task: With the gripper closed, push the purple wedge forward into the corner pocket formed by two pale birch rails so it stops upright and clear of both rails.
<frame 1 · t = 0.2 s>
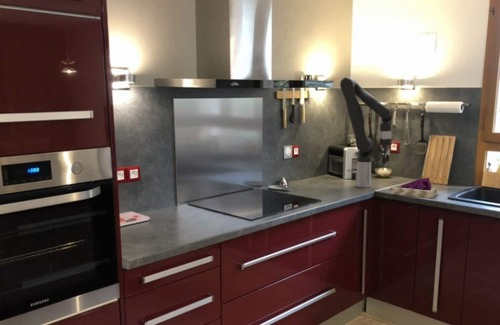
hand: (385, 162, 297), 18 cm above the worktop, tool pointing down, fingers open, 8 cm apart
purple wedge: (414, 191, 290), on the worktop
corner rails: (413, 193, 282), on the worktop
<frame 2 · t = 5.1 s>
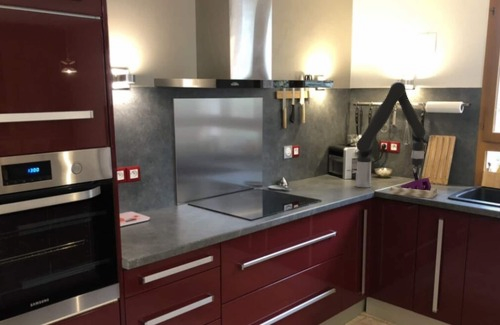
hand: (416, 183, 295), 4 cm above the worktop, tool pointing down, fingers closed
purple wedge: (413, 191, 290), on the worktop, touching gripper
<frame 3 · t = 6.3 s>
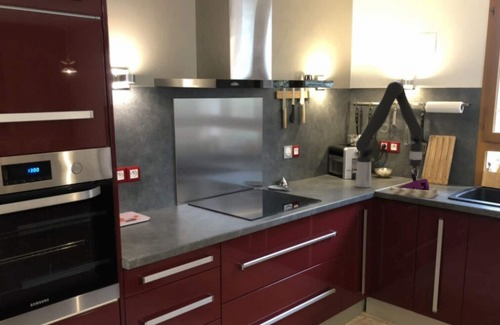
hand: (414, 184, 290), 4 cm above the worktop, tool pointing down, fingers closed
purple wedge: (411, 192, 288), on the worktop, touching gripper
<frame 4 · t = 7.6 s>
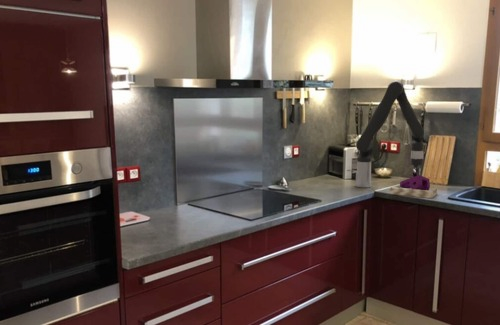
hand: (416, 184, 290), 4 cm above the worktop, tool pointing down, fingers closed
purple wedge: (411, 190, 287), point 1 cm above the worktop
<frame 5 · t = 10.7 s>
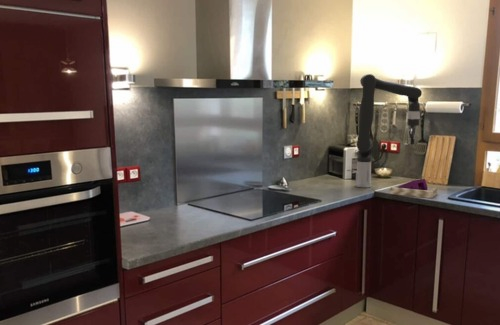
hand: (412, 144, 299), 29 cm above the worktop, tool pointing down, fingers closed
purple wedge: (410, 193, 287), on the worktop
at the end: purple wedge inside the target area (2.9 cm from its centre), on the worktop; purple wedge touching worktop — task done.
